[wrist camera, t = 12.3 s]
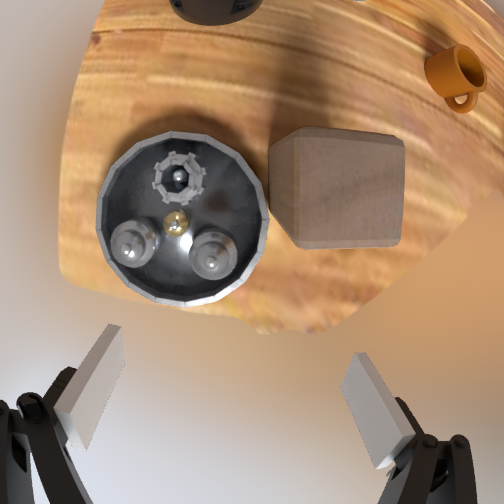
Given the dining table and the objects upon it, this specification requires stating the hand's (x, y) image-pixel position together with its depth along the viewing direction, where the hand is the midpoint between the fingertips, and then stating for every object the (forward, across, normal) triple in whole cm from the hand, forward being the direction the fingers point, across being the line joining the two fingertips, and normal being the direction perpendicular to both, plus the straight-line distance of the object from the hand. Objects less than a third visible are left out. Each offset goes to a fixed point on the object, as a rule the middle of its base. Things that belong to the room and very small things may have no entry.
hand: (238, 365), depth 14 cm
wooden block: (+29, +8, +10) cm, 32 cm away
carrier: (+29, -8, +2) cm, 30 cm away
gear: (+27, -8, +8) cm, 30 cm away
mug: (+29, +32, +35) cm, 56 cm away
